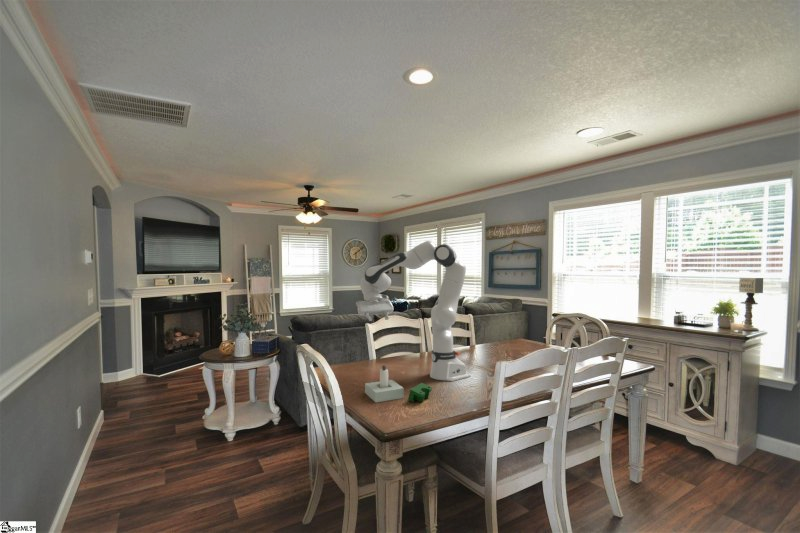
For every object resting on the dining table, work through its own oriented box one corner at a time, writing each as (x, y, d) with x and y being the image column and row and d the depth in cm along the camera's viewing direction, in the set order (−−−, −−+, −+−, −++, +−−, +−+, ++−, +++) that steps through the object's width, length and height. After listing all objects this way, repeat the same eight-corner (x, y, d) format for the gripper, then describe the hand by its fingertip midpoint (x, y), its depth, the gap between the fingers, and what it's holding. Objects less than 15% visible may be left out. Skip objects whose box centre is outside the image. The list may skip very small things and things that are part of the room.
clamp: (419, 412, 169) (419, 397, 165) (408, 406, 172) (408, 391, 168) (432, 395, 178) (433, 380, 174) (421, 389, 181) (422, 375, 177)
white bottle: (386, 393, 181) (386, 364, 180) (389, 396, 177) (389, 366, 177) (378, 394, 179) (378, 365, 179) (381, 397, 175) (381, 367, 175)
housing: (391, 388, 187) (391, 379, 187) (403, 397, 175) (403, 388, 175) (365, 392, 181) (365, 383, 181) (375, 402, 169) (375, 392, 169)
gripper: (356, 297, 207) (362, 317, 198) (390, 295, 216) (397, 315, 207) (353, 304, 211) (359, 324, 203) (387, 302, 220) (394, 322, 211)
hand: (379, 319), depth 205 cm, fingers open, 8 cm apart
